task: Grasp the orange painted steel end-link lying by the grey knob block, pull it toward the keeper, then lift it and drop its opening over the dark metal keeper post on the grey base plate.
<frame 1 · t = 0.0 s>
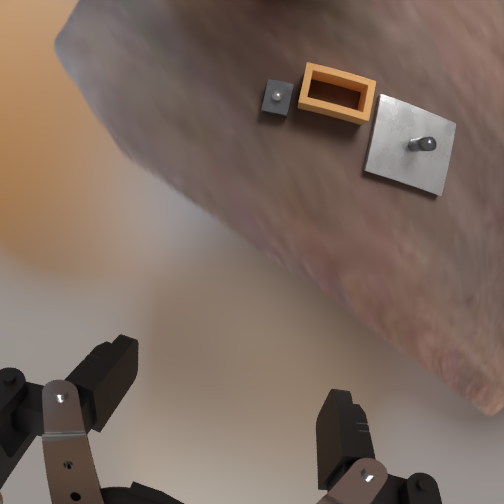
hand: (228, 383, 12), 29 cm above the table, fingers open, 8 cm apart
keeper: (410, 145, 35), on the table
orange link: (333, 97, 34), on the table
grey knob block: (278, 100, 35), on the table
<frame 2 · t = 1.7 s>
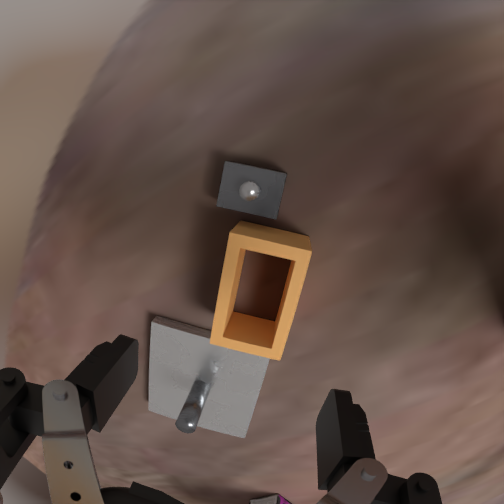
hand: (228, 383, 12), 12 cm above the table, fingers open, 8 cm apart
keeper: (204, 379, 27), on the table
orange link: (262, 279, 24), on the table
grey knob block: (254, 187, 22), on the table
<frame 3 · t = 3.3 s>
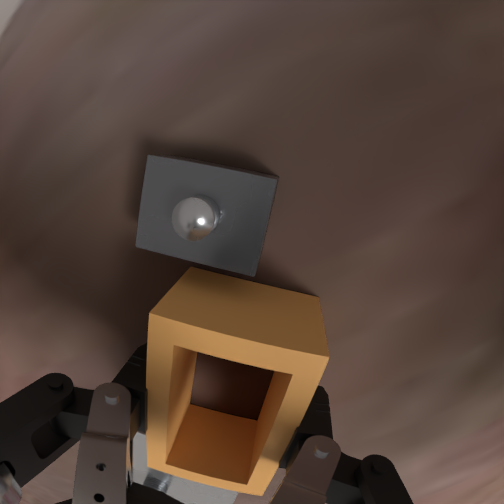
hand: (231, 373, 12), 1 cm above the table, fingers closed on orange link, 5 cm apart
keeper: (161, 471, 16), on the table
orange link: (234, 365, 13), on the table, touching gripper
grey knob block: (214, 205, 11), on the table
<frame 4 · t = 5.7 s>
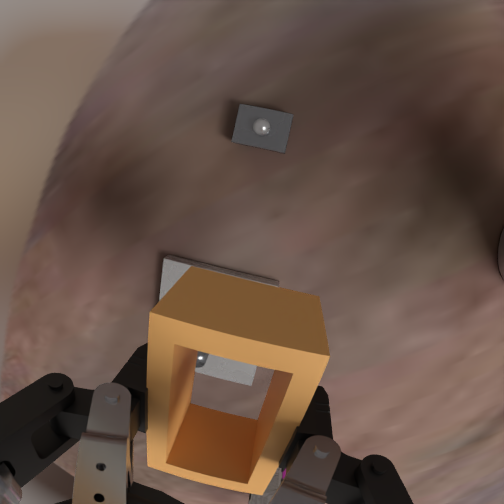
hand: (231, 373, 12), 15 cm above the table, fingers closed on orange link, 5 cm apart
keeper: (212, 321, 29), on the table
candy bar box: (289, 476, 35), on the table
orange link: (235, 364, 13), point 14 cm above the table, touching gripper
grey knob block: (264, 130, 24), on the table
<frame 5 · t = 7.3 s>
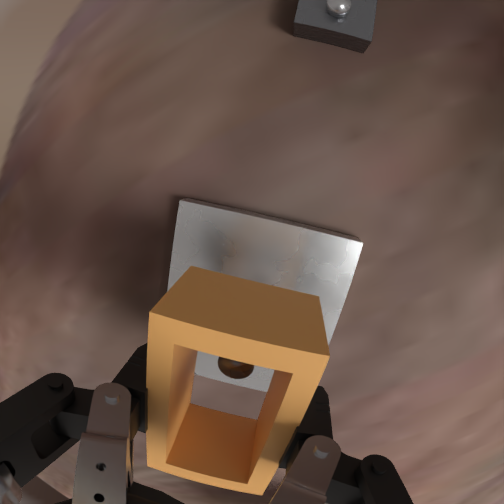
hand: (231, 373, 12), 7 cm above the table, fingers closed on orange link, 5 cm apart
keeper: (252, 304, 19), on the table
orange link: (235, 364, 13), point 6 cm above the table, touching gripper
grey knob block: (332, 23, 14), on the table
when the fingers open (4 cm above the table, at t = 8.4 s): orange link drops 2 cm, resting on keeper.
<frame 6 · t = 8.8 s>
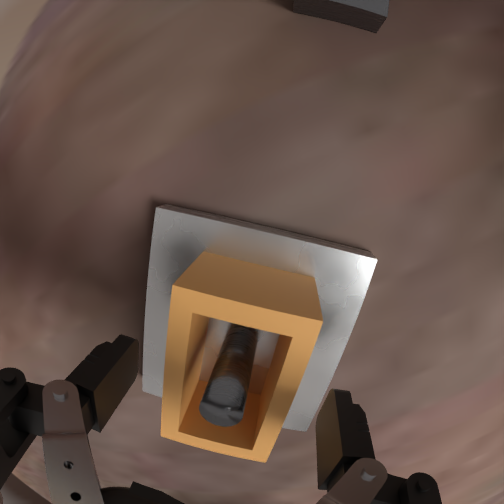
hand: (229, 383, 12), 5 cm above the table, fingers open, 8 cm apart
keeper: (244, 329, 16), on the table
orange link: (241, 340, 15), point 1 cm above the table, touching keeper
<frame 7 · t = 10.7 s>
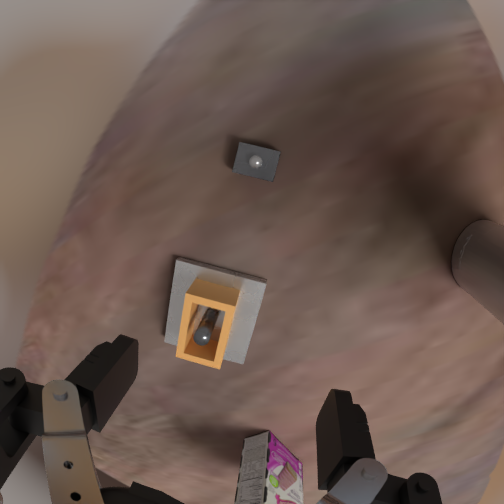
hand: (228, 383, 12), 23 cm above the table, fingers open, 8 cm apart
keeper: (213, 311, 36), on the table
candy bar box: (274, 450, 43), on the table
orange link: (211, 315, 35), point 1 cm above the table, touching keeper
grey knob block: (257, 161, 31), on the table
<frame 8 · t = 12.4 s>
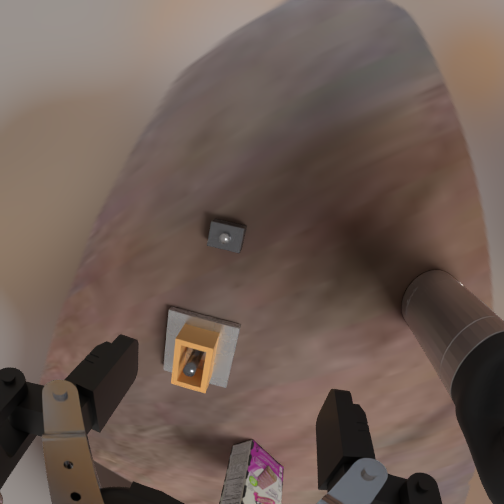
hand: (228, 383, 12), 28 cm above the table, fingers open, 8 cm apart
keeper: (200, 347, 45), on the table
candy bar box: (259, 455, 51), on the table
orange link: (198, 351, 43), point 1 cm above the table, touching keeper
grey knob block: (228, 233, 39), on the table
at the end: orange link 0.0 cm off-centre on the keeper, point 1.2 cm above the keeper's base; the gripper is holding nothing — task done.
